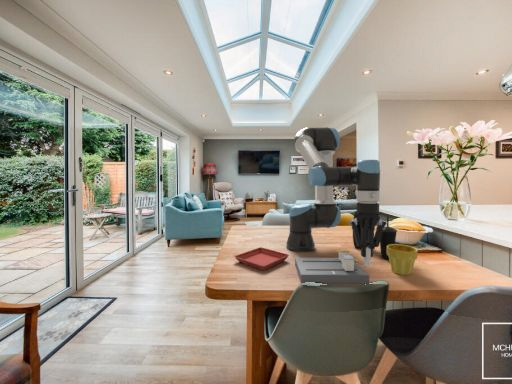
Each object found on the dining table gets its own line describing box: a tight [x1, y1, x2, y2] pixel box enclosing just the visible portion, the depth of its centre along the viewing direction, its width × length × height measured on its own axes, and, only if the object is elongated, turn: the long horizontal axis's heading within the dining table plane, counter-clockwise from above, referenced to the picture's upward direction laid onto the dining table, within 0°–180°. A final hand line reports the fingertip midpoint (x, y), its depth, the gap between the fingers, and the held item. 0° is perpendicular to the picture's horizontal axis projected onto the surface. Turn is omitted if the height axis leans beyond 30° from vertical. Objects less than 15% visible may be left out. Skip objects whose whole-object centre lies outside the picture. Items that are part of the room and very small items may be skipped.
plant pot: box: [387, 243, 419, 276], centre depth 93 cm, size 10×10×10 cm
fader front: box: [342, 254, 355, 271], centre depth 88 cm, size 3×4×5 cm
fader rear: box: [337, 247, 350, 262], centre depth 96 cm, size 3×4×4 cm
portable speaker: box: [352, 210, 368, 250], centre depth 125 cm, size 9×9×20 cm
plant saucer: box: [234, 246, 290, 271], centre depth 106 cm, size 18×18×3 cm
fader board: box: [294, 257, 370, 284], centre depth 93 cm, size 24×18×3 cm
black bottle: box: [379, 215, 398, 261], centre depth 108 cm, size 8×8×20 cm
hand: (366, 265), depth 87 cm, fingers closed
